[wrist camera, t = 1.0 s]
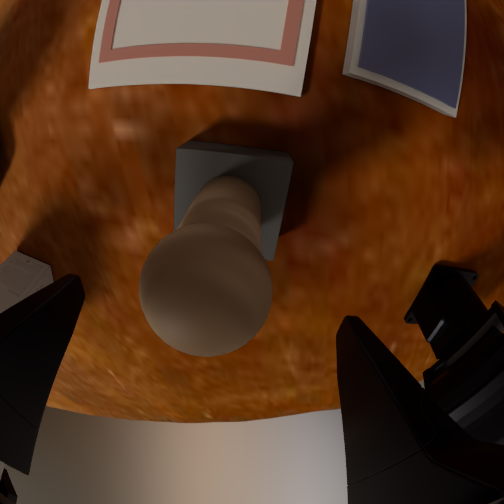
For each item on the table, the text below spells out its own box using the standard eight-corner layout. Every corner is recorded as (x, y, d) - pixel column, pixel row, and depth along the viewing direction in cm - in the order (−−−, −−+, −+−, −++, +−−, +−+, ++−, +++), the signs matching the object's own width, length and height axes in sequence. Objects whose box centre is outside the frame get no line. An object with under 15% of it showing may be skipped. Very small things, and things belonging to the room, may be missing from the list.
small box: (15, 248, 20) (-44, 315, 11) (52, 264, 21) (-9, 345, 12) (29, 302, 24) (-13, 366, 15) (63, 318, 25) (23, 391, 16)
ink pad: (454, -9, 7) (467, -13, 6) (443, 114, 13) (458, 118, 11) (358, -56, 7) (366, -66, 5) (342, 74, 12) (351, 72, 11)
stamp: (289, 153, 15) (335, 268, 6) (272, 239, 19) (278, 400, 9) (188, 140, 15) (73, 231, 5) (184, 227, 18) (117, 373, 9)
